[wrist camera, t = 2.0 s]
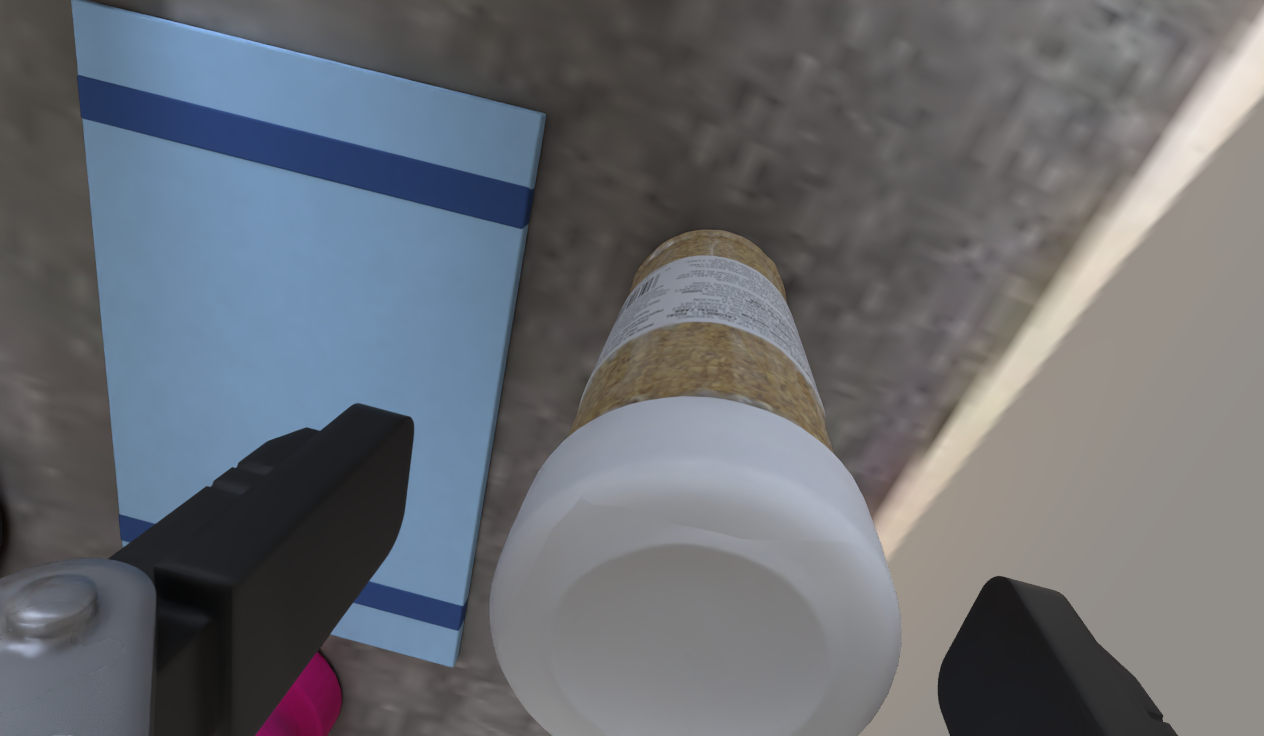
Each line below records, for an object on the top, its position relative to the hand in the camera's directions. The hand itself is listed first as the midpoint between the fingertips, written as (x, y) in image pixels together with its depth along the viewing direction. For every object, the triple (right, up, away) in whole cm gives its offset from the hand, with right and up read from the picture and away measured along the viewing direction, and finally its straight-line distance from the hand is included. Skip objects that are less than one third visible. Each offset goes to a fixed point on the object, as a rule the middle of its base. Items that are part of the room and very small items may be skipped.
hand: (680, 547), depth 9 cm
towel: (-11, +2, +13) cm, 17 cm away
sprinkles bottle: (+2, +4, +10) cm, 11 cm away
